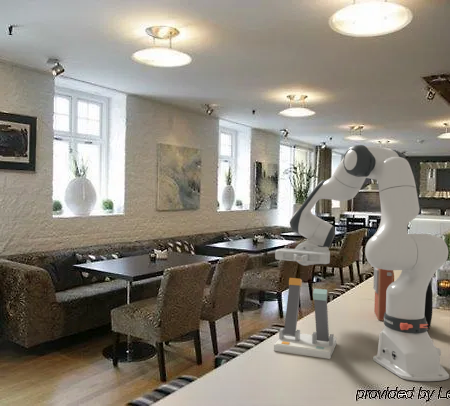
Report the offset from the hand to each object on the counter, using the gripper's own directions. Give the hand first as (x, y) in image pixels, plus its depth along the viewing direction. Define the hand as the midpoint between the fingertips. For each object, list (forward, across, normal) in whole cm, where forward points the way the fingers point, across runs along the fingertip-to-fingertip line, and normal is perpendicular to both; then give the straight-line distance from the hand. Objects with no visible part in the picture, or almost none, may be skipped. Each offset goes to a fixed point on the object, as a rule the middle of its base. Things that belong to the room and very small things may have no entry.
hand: (298, 258), depth 162 cm
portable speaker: (-24, +41, +27) cm, 55 cm away
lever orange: (+12, 0, +24) cm, 27 cm away
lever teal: (+12, +11, +24) cm, 29 cm away
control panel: (-37, +28, +28) cm, 54 cm away
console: (+12, +6, +27) cm, 30 cm away
